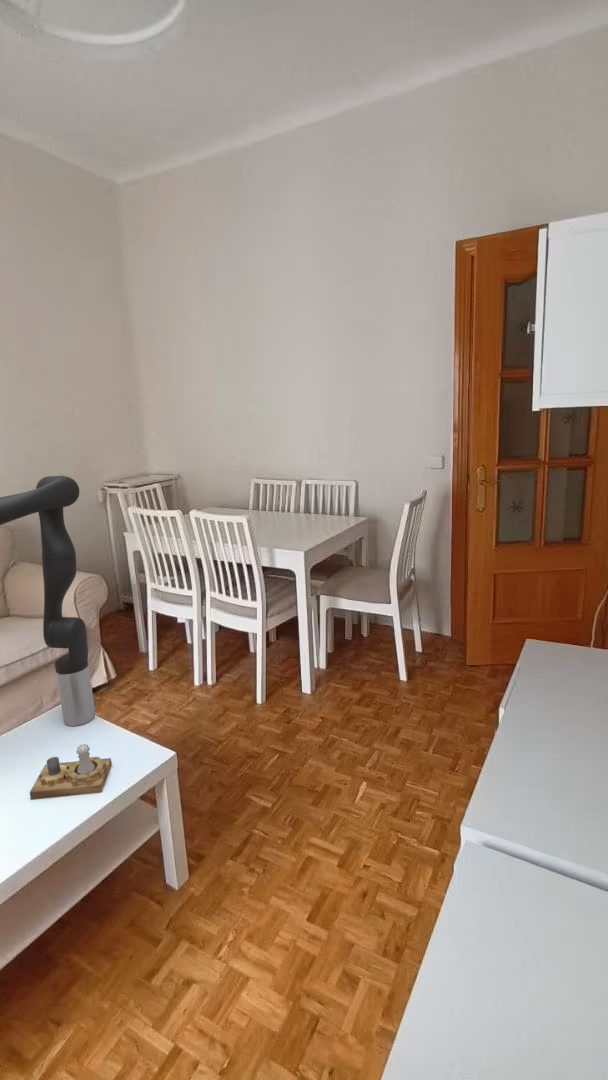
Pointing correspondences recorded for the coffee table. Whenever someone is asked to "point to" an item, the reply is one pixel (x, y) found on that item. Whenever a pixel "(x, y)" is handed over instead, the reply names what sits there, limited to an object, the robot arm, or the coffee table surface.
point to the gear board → (68, 785)
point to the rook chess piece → (84, 760)
